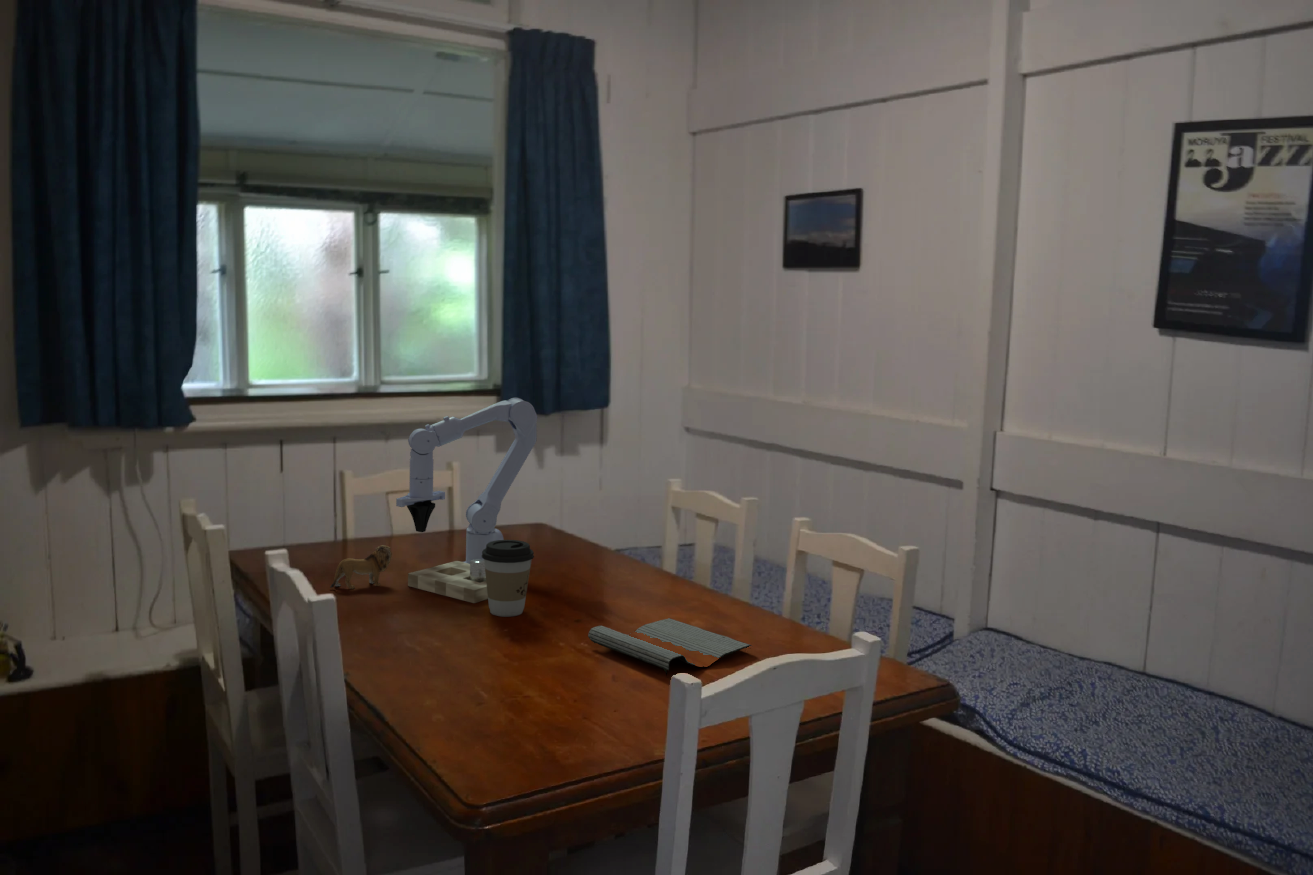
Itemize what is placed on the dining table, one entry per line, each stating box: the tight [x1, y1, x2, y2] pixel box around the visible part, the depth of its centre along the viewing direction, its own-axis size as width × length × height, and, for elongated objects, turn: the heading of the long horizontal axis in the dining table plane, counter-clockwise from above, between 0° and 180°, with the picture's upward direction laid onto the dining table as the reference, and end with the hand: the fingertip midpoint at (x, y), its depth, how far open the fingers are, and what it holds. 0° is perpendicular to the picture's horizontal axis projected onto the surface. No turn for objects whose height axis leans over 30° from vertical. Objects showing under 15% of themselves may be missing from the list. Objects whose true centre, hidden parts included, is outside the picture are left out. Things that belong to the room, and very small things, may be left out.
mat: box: [587, 617, 753, 674], centre depth 198 cm, size 23×24×5 cm
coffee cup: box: [481, 539, 535, 618], centre depth 218 cm, size 11×11×15 cm
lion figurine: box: [329, 544, 393, 590], centre depth 233 cm, size 15×5×9 cm, turn 128°
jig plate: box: [407, 560, 488, 604], centre depth 236 cm, size 16×21×3 cm
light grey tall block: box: [470, 559, 486, 583], centre depth 234 cm, size 4×4×7 cm
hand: (420, 531), depth 250 cm, fingers closed
